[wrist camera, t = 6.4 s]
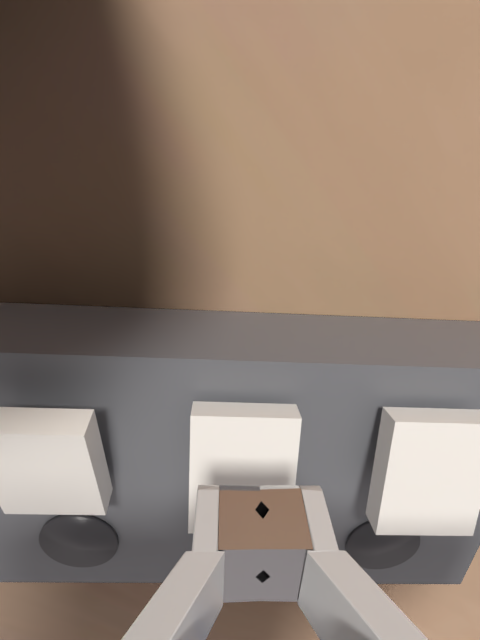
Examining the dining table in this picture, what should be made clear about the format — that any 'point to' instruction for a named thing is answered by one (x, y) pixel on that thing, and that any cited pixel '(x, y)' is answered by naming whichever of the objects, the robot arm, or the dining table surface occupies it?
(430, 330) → the switch panel
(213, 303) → the dining table surface
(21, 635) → the dining table surface
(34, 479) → the rocker
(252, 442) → the rocker
